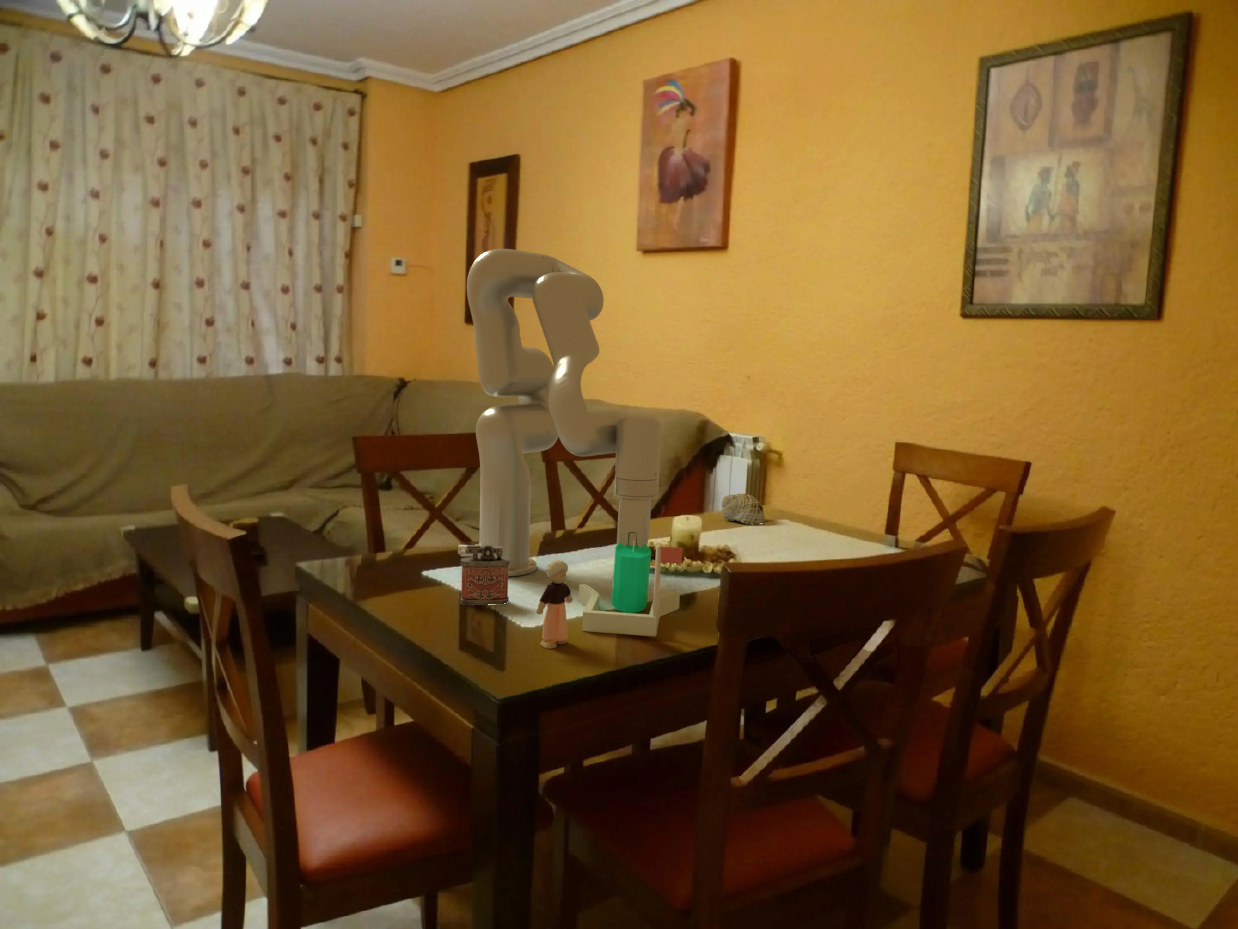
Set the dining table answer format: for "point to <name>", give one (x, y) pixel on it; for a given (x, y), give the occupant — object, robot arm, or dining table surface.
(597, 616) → the white tray with post
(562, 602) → the grandmother figurine
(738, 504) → the seashell
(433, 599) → the dining table surface
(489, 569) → the lighter
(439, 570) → the dining table surface
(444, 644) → the dining table surface
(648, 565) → the candle
